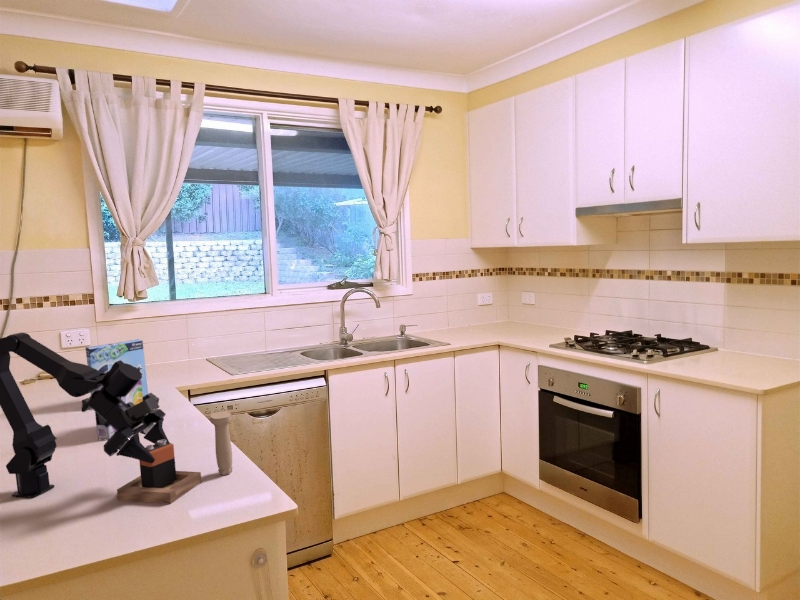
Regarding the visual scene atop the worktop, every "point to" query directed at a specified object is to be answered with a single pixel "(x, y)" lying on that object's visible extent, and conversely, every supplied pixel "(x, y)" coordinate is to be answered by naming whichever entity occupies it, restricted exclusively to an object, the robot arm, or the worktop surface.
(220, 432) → the handle
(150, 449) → the battery
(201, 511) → the worktop surface
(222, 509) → the worktop surface
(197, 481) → the brown wooden flat tray
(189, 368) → the worktop surface
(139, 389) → the cake pan box
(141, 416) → the robot arm
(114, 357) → the light blue flat box
